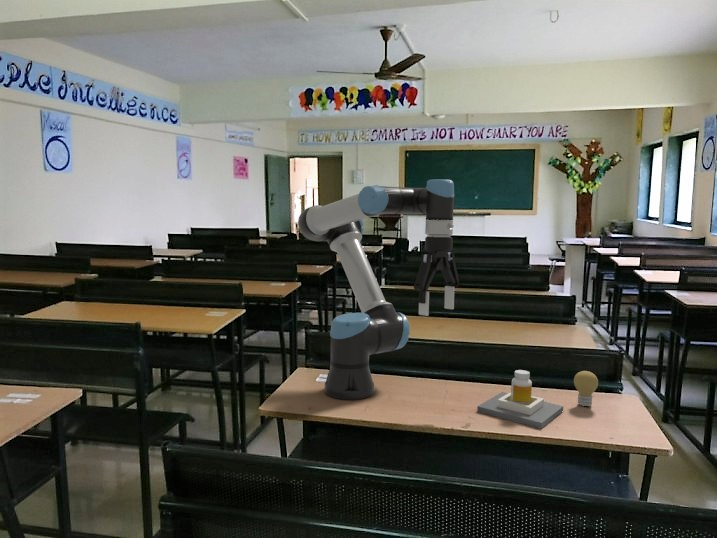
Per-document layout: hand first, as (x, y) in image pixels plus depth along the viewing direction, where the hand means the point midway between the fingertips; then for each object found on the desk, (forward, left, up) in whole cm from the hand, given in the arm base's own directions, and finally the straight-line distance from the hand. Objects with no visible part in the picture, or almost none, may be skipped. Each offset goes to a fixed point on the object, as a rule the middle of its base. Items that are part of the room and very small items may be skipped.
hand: (436, 311), depth 151 cm
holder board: (+21, +11, -27) cm, 36 cm away
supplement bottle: (+21, +11, -25) cm, 35 cm away
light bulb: (+33, +28, -27) cm, 51 cm away
